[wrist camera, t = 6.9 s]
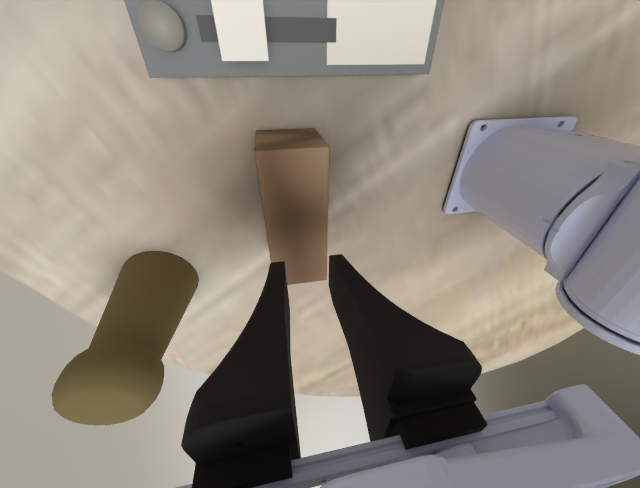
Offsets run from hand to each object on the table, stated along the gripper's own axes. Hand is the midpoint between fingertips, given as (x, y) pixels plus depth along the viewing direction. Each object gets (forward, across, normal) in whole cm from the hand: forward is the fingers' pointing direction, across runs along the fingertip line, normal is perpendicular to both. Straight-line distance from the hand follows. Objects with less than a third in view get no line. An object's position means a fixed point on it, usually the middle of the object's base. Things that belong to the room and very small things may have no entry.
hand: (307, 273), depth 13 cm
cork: (+10, +12, +7) cm, 17 cm away
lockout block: (+10, 0, 0) cm, 10 cm away
